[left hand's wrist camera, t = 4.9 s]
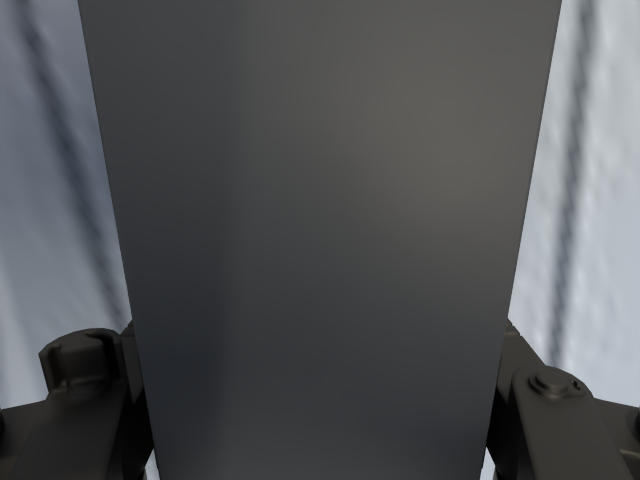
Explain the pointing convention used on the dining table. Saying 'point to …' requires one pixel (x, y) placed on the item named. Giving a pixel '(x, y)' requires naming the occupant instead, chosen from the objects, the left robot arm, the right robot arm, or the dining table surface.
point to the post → (319, 223)
